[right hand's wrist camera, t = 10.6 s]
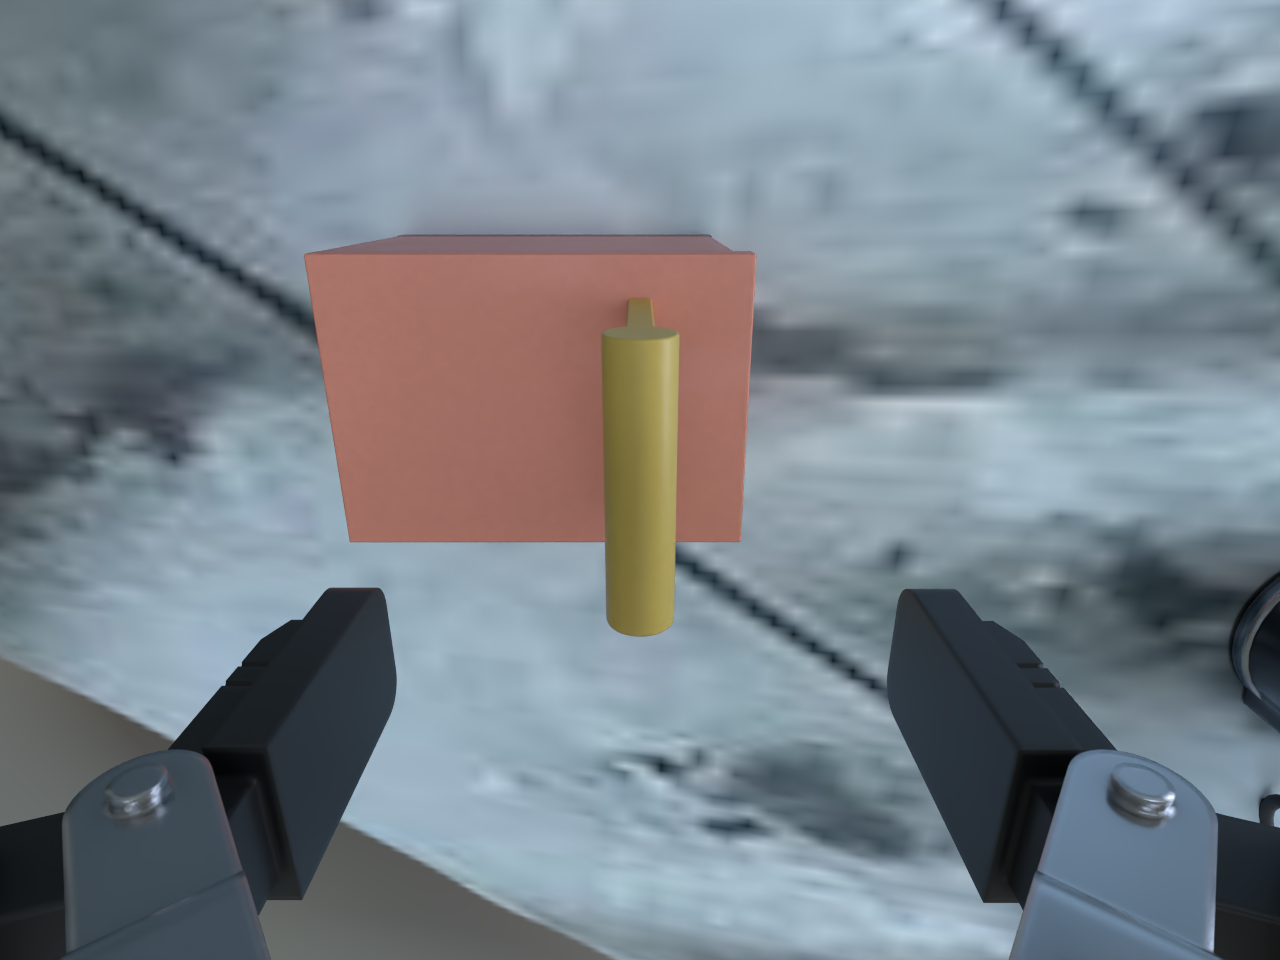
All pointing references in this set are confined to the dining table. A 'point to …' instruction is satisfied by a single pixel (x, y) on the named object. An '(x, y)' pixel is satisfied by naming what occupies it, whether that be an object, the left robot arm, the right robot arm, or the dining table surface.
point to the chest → (541, 243)
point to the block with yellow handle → (542, 402)
